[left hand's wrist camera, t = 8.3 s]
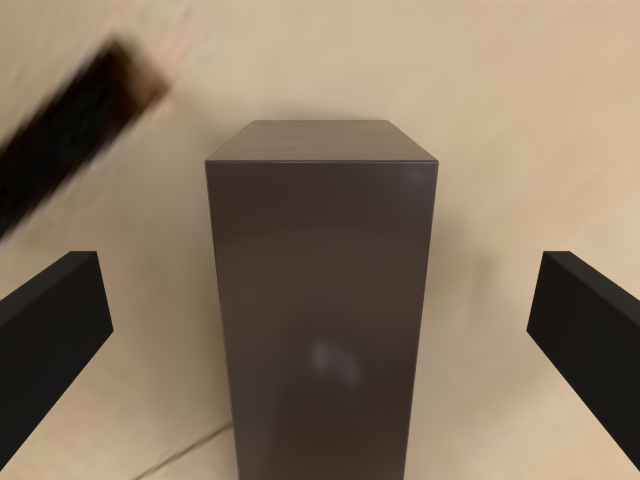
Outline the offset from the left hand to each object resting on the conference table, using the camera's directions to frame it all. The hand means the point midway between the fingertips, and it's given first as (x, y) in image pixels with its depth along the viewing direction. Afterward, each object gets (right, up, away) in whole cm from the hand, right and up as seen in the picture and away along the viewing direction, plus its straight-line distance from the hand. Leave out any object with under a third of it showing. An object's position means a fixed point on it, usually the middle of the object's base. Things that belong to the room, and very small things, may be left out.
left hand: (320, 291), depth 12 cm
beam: (0, -7, +8) cm, 11 cm away
